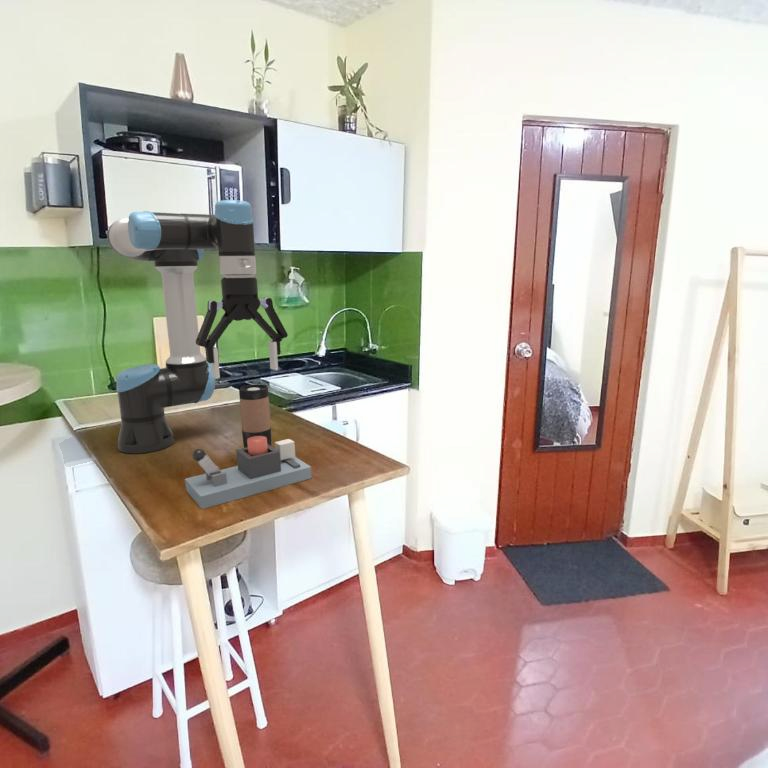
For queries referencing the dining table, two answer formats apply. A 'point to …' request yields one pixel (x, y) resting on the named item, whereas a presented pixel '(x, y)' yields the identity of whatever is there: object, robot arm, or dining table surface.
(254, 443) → the button
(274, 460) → the panel
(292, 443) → the slider
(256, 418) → the travel mug
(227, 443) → the dining table surface
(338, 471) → the dining table surface
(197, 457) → the lever
